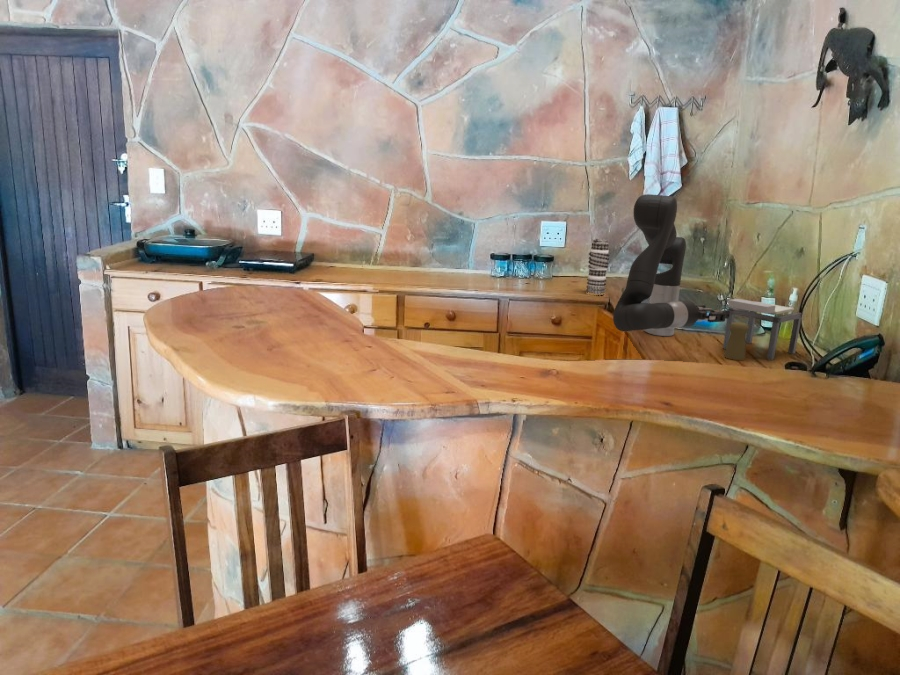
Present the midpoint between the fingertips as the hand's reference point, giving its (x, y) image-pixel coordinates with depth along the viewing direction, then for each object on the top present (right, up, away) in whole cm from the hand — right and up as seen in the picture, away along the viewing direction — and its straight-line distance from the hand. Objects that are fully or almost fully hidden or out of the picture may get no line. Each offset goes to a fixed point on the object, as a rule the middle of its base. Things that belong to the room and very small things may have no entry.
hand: (716, 311), depth 188 cm
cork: (+9, -14, +9) cm, 19 cm away
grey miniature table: (+21, -12, +18) cm, 30 cm away
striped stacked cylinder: (-11, +12, +107) cm, 108 cm away
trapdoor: (+19, +1, +13) cm, 23 cm away
